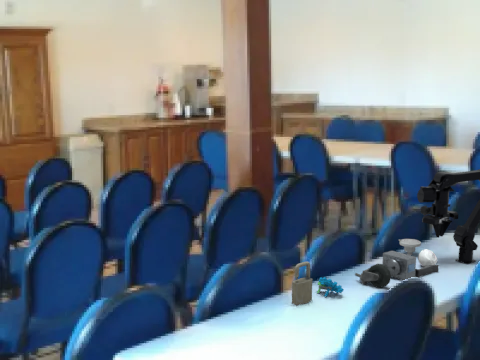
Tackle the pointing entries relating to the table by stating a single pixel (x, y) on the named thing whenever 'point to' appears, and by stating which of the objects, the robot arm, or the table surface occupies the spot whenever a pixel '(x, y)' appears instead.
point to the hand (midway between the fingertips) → (439, 236)
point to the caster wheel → (375, 275)
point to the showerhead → (410, 245)
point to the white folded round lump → (427, 258)
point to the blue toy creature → (329, 286)
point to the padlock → (302, 286)
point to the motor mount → (405, 266)
